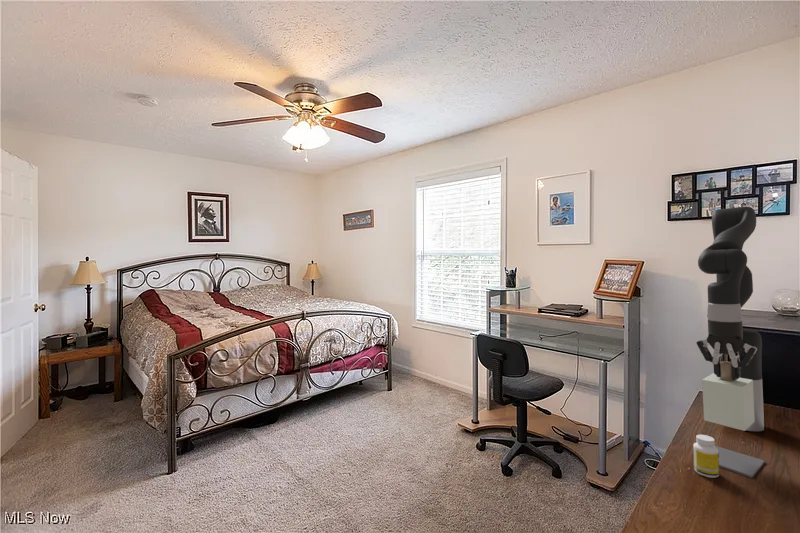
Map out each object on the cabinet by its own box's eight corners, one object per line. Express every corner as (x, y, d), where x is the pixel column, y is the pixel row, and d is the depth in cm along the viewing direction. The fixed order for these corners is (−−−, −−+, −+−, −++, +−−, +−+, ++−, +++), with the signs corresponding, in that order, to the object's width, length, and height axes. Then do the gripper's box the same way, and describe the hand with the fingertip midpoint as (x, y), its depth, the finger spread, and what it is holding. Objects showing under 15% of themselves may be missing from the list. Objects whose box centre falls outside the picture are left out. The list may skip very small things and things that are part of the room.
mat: (712, 446, 116) (711, 444, 116) (764, 462, 106) (764, 460, 106) (697, 459, 109) (697, 457, 109) (752, 478, 99) (751, 475, 99)
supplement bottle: (724, 479, 100) (722, 442, 99) (701, 477, 101) (699, 441, 101) (711, 468, 105) (710, 433, 105) (689, 466, 106) (688, 432, 106)
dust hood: (715, 411, 114) (712, 356, 114) (754, 421, 106) (752, 362, 106) (704, 420, 109) (701, 362, 109) (744, 430, 101) (742, 369, 101)
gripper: (761, 319, 103) (764, 380, 104) (699, 314, 115) (702, 370, 115) (753, 323, 99) (756, 387, 100) (690, 318, 111) (692, 375, 111)
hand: (727, 377), depth 107 cm, fingers closed on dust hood, 3 cm apart
